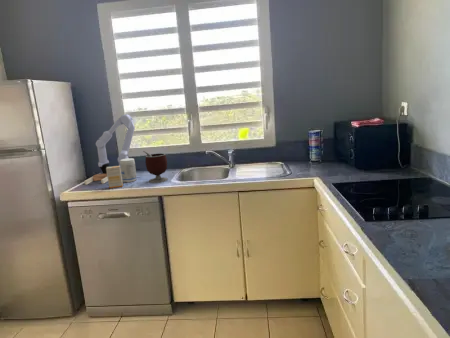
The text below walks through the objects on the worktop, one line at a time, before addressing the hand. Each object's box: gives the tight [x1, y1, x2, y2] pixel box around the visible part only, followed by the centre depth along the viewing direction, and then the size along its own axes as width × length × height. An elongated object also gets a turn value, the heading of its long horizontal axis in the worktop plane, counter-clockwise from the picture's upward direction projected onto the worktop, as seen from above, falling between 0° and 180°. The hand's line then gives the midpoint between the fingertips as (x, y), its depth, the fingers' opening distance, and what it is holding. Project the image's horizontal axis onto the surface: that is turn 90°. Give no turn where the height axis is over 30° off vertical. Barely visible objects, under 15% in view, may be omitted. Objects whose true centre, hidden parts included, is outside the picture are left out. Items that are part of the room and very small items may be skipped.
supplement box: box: [106, 165, 124, 189], centre depth 225 cm, size 8×5×13 cm, turn 98°
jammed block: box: [92, 173, 107, 182], centre depth 250 cm, size 5×9×4 cm, turn 87°
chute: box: [84, 176, 108, 185], centre depth 246 cm, size 16×13×2 cm
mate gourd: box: [142, 150, 169, 184], centre depth 233 cm, size 16×14×20 cm
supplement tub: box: [120, 157, 138, 183], centre depth 239 cm, size 10×10×15 cm
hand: (105, 174), depth 257 cm, fingers closed
